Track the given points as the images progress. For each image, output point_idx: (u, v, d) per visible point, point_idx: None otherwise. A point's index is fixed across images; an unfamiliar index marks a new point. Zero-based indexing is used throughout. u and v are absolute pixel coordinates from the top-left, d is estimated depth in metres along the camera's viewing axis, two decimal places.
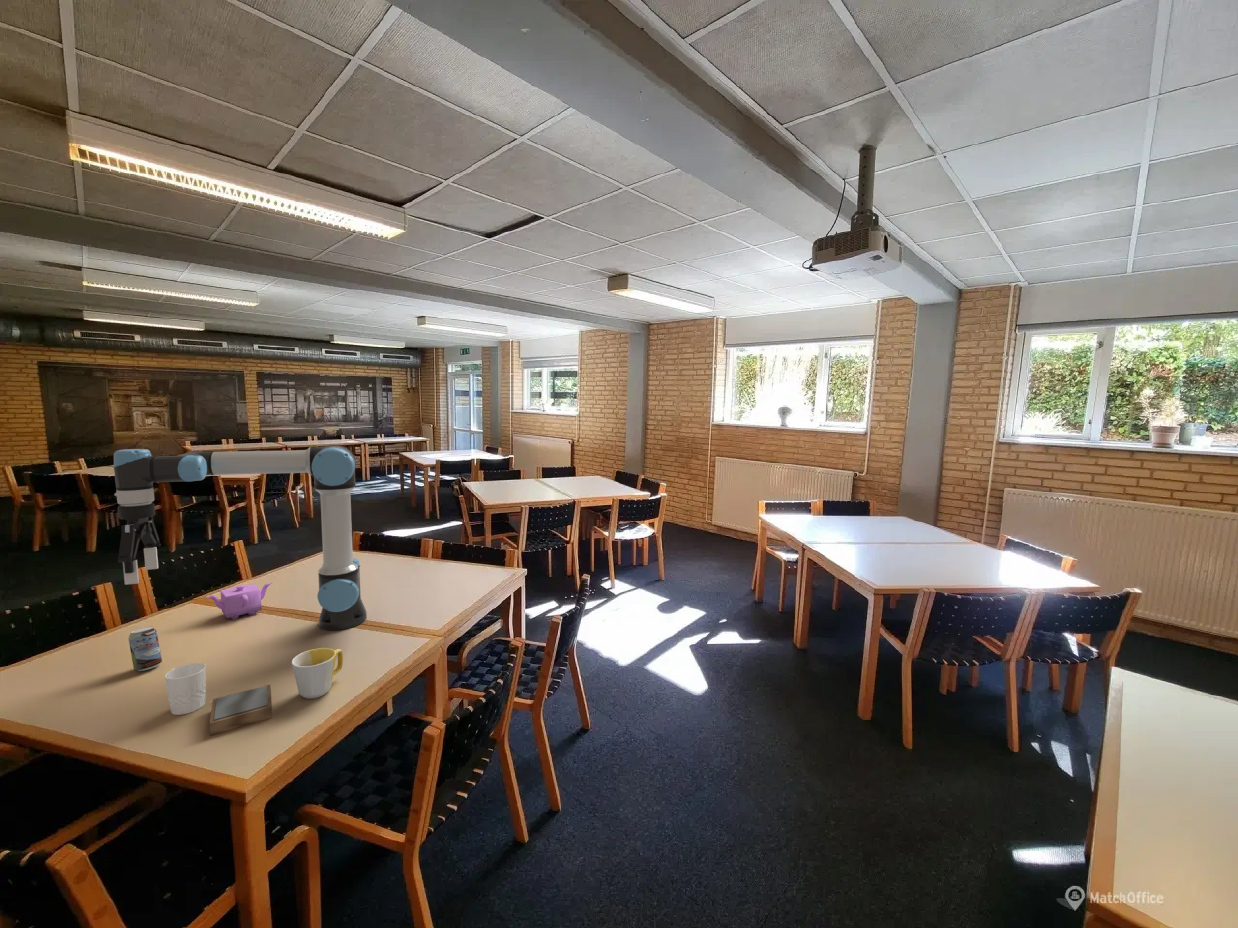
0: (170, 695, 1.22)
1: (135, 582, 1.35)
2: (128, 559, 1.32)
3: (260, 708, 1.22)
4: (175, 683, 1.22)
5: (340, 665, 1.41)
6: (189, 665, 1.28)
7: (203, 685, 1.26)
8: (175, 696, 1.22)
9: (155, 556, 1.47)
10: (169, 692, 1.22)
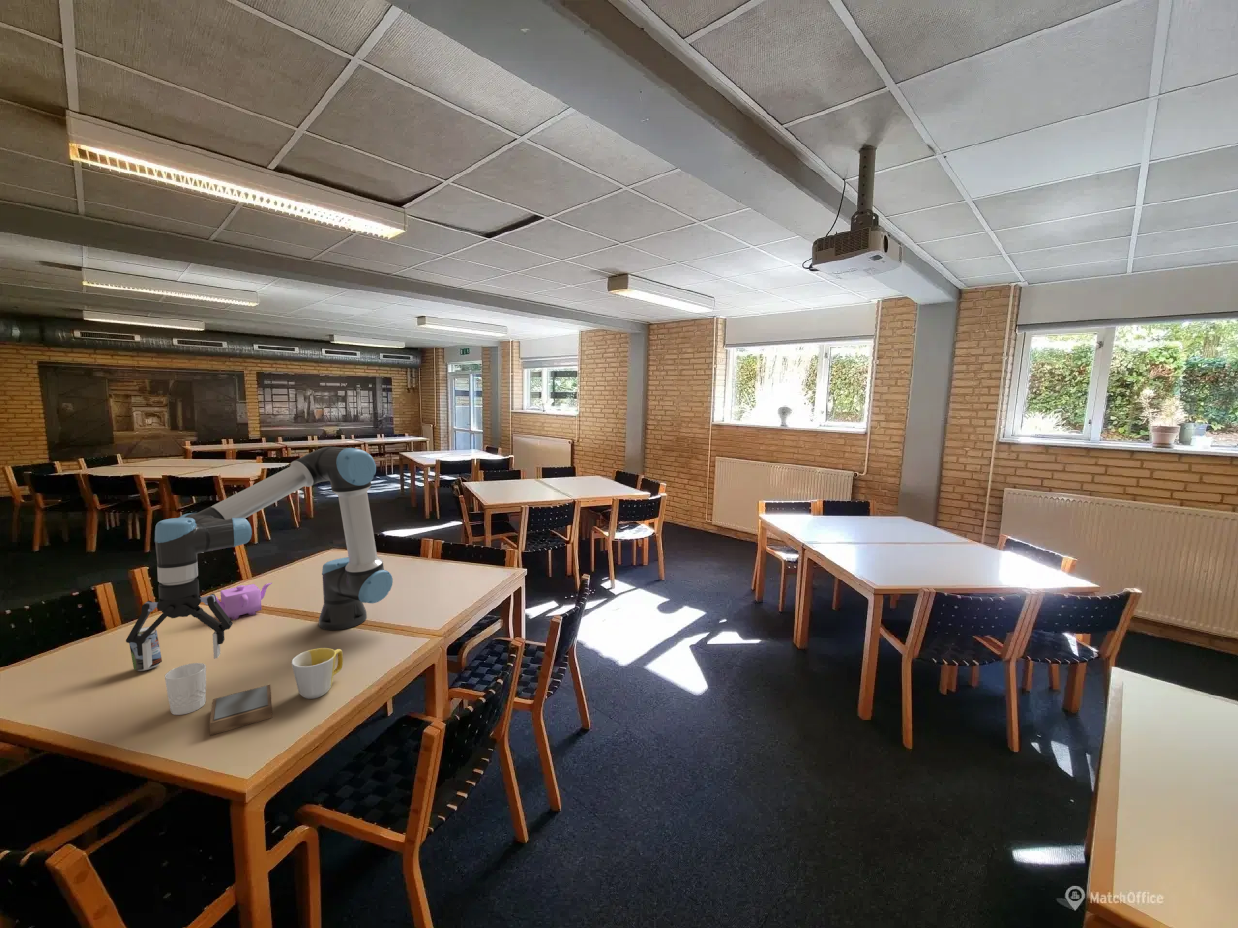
0: (170, 695, 1.22)
1: None
2: None
3: (260, 708, 1.22)
4: (175, 683, 1.22)
5: (340, 665, 1.41)
6: (189, 665, 1.28)
7: (203, 685, 1.26)
8: (175, 696, 1.22)
9: (213, 644, 1.26)
10: (169, 692, 1.22)
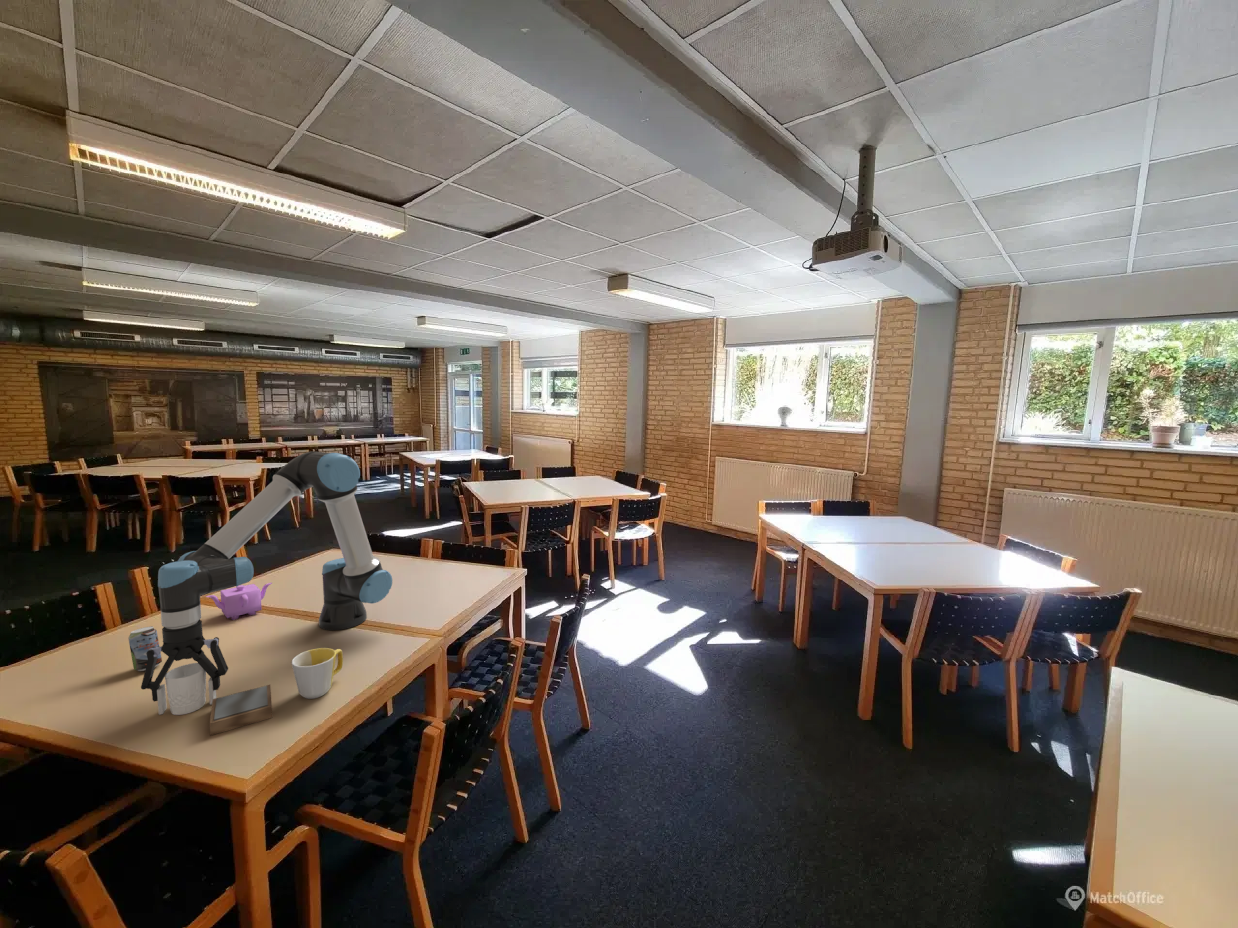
0: (170, 695, 1.22)
1: None
2: None
3: (260, 708, 1.22)
4: (175, 683, 1.22)
5: (340, 665, 1.41)
6: (189, 665, 1.28)
7: (203, 685, 1.26)
8: (175, 696, 1.22)
9: (209, 690, 1.27)
10: (169, 692, 1.22)
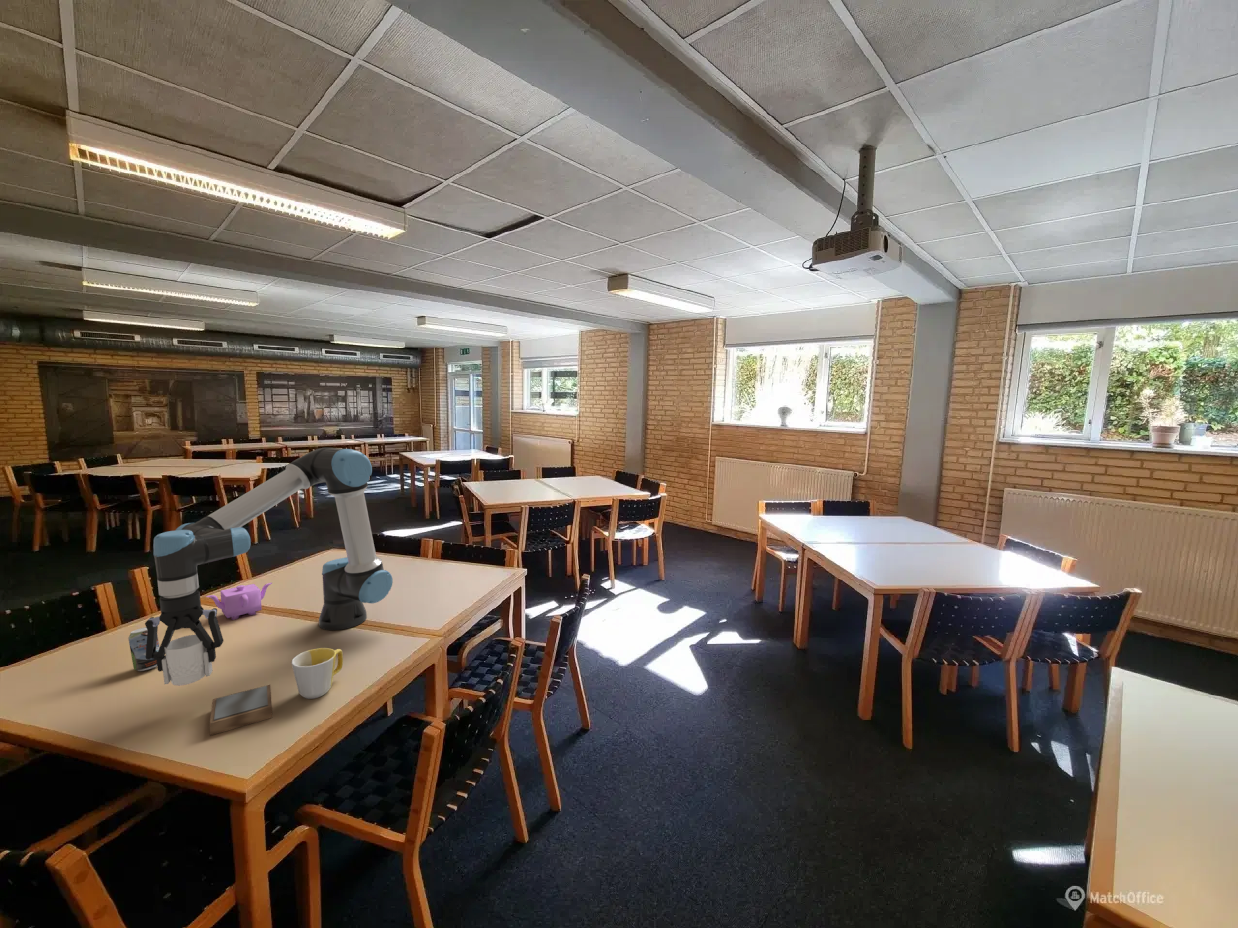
0: (170, 666, 1.22)
1: None
2: None
3: (260, 708, 1.22)
4: (175, 654, 1.21)
5: (340, 665, 1.41)
6: (189, 637, 1.28)
7: (203, 656, 1.26)
8: (175, 667, 1.22)
9: None
10: (169, 663, 1.22)
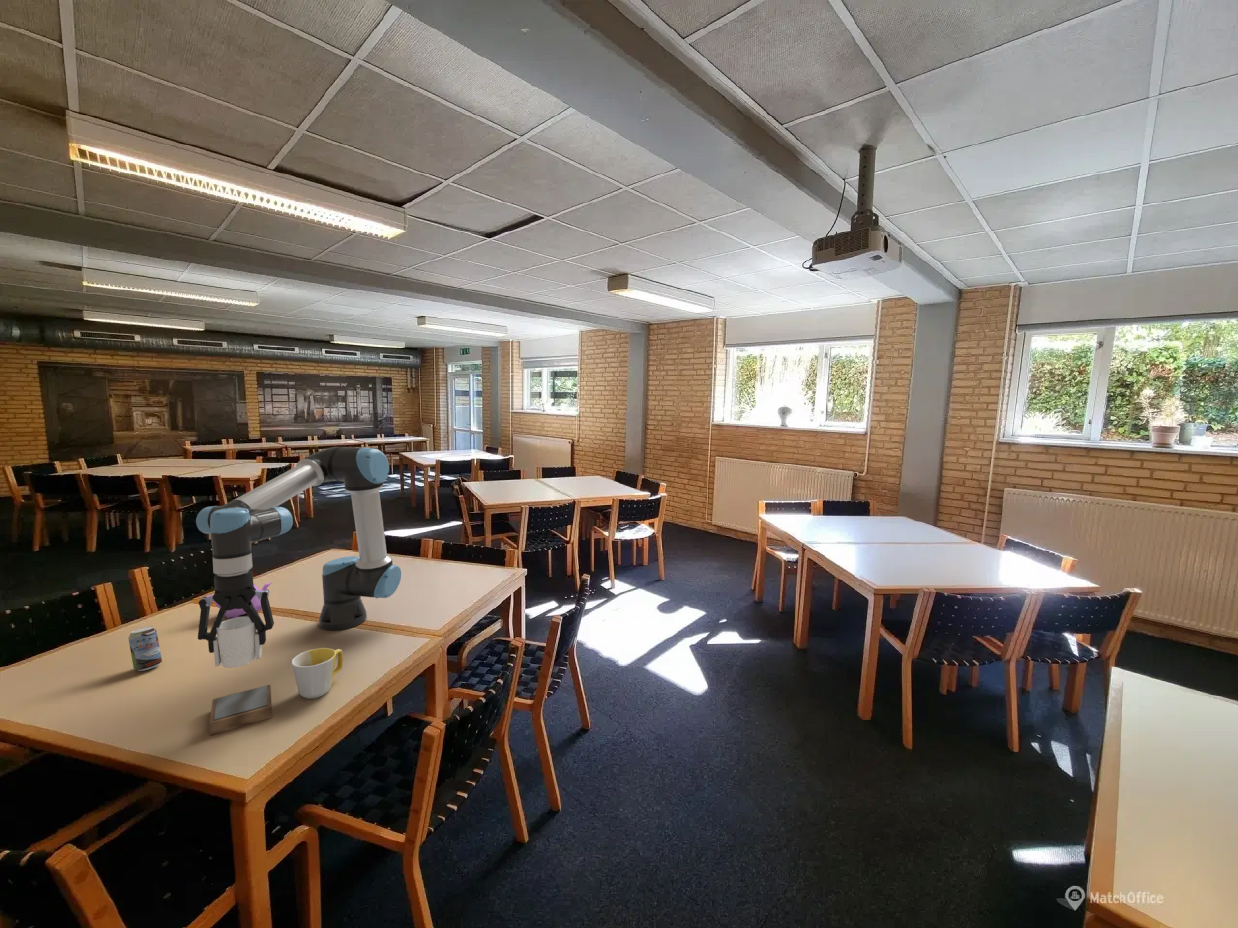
0: (222, 647, 1.19)
1: None
2: None
3: (260, 708, 1.22)
4: (227, 634, 1.18)
5: (340, 665, 1.41)
6: (239, 618, 1.25)
7: (254, 638, 1.23)
8: (227, 648, 1.19)
9: None
10: (221, 644, 1.19)
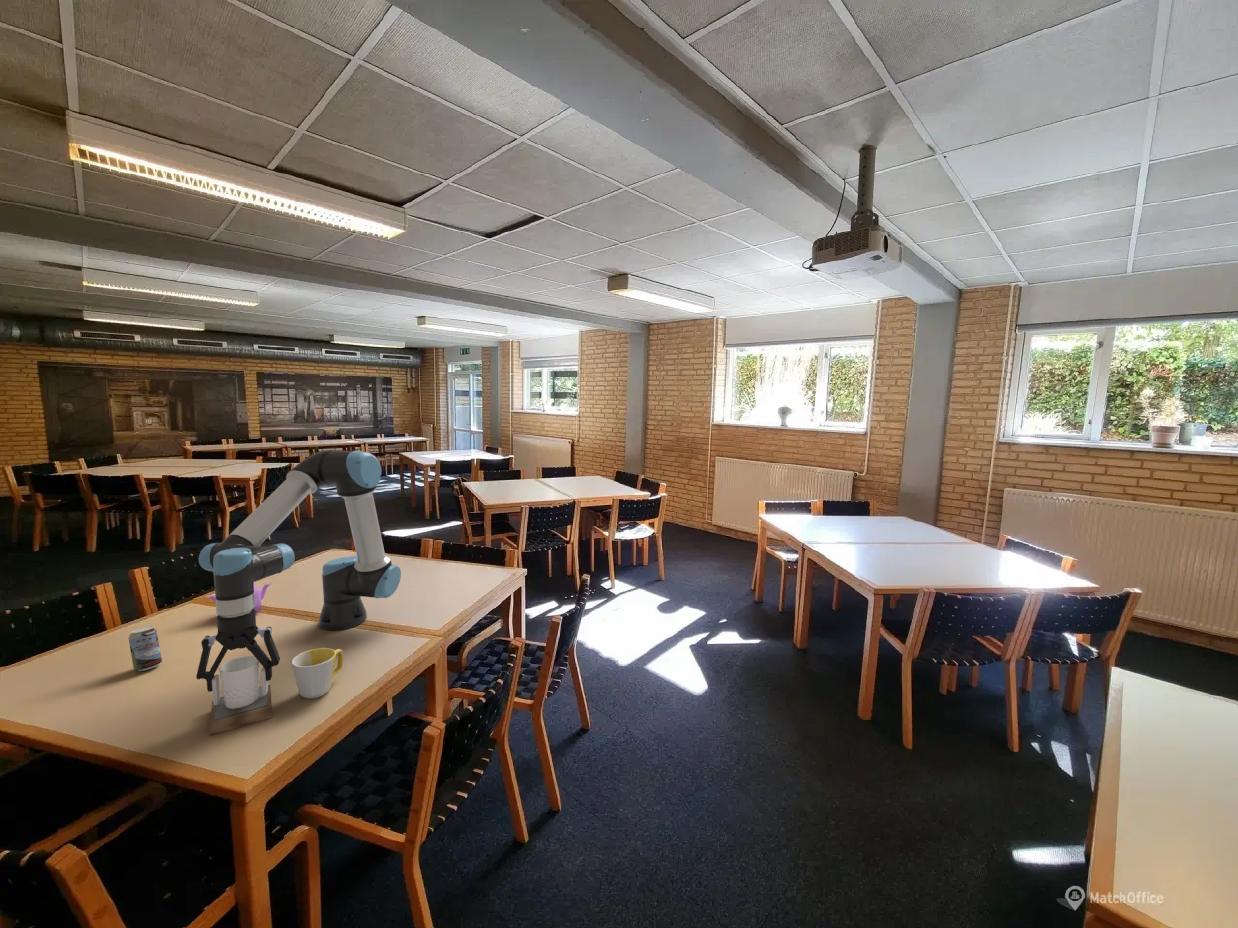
0: (225, 688, 1.20)
1: None
2: None
3: (260, 708, 1.22)
4: (230, 676, 1.19)
5: (340, 665, 1.41)
6: (242, 658, 1.26)
7: (257, 678, 1.24)
8: (230, 690, 1.20)
9: (262, 680, 1.24)
10: (224, 685, 1.20)
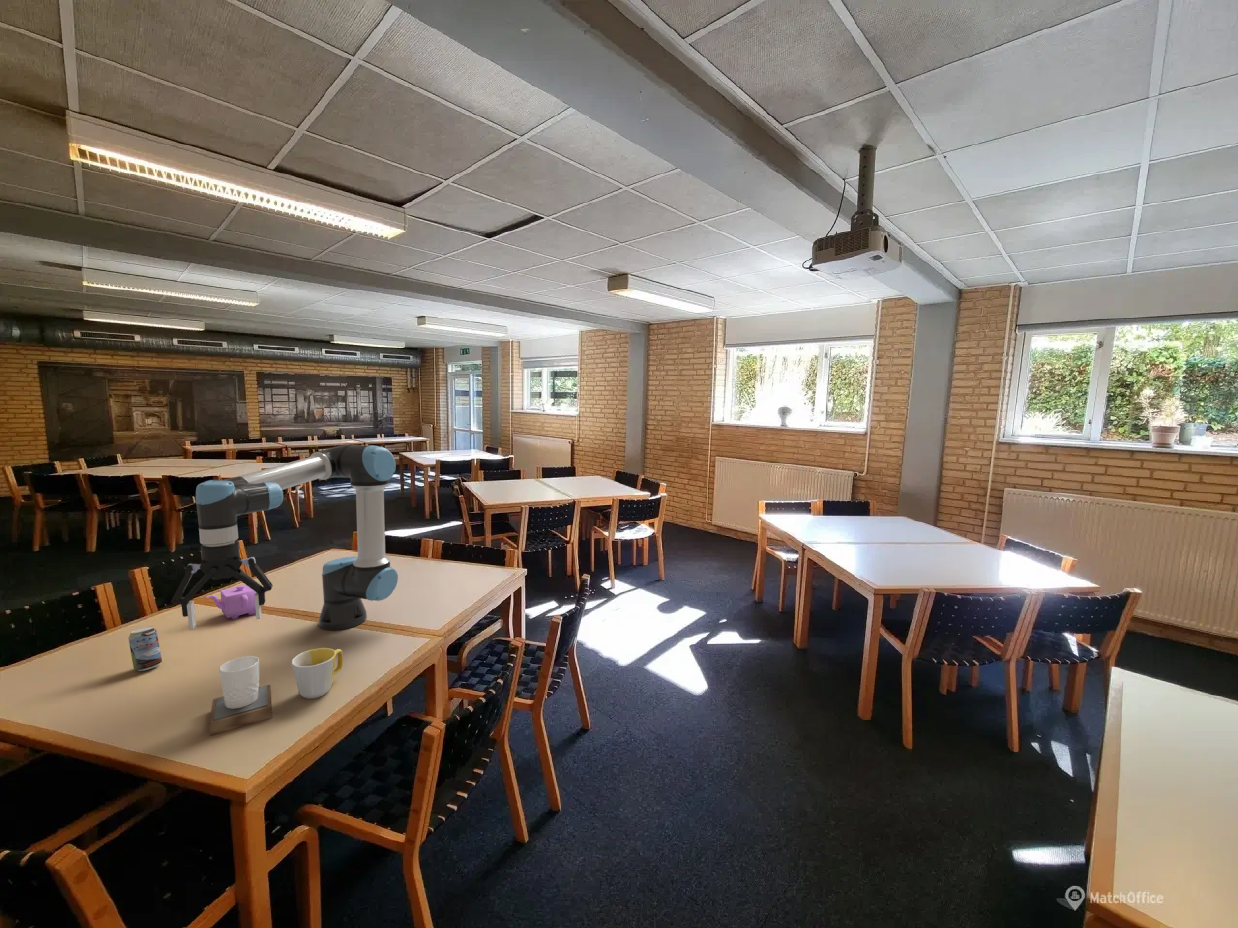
0: (225, 688, 1.20)
1: None
2: None
3: (260, 708, 1.22)
4: (230, 676, 1.19)
5: (340, 665, 1.41)
6: (242, 658, 1.26)
7: (257, 678, 1.24)
8: (230, 690, 1.20)
9: None
10: (224, 685, 1.20)
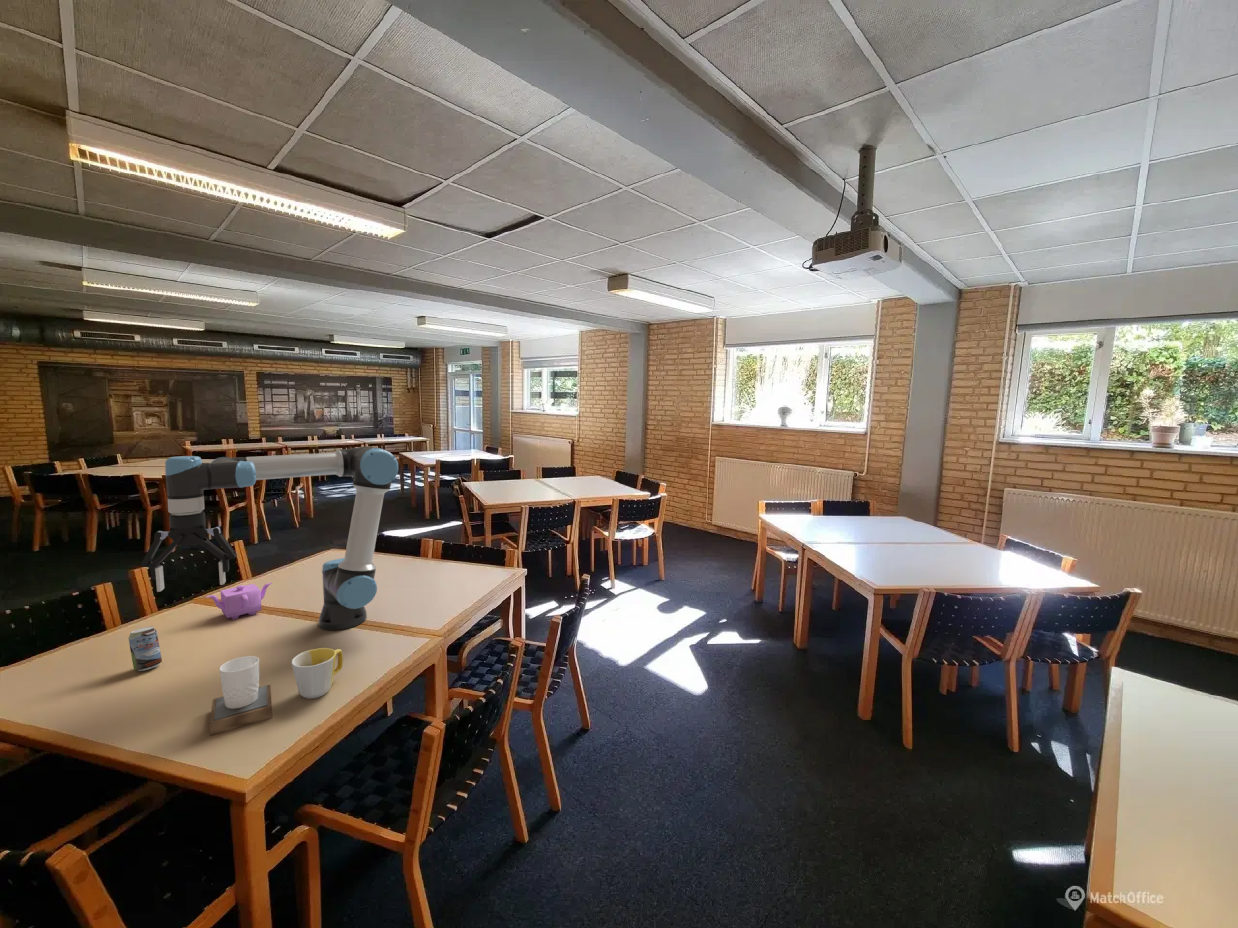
0: (225, 688, 1.20)
1: None
2: None
3: (260, 708, 1.22)
4: (230, 676, 1.19)
5: (340, 665, 1.41)
6: (242, 658, 1.26)
7: (257, 678, 1.24)
8: (230, 690, 1.20)
9: (219, 571, 1.39)
10: (224, 685, 1.20)
